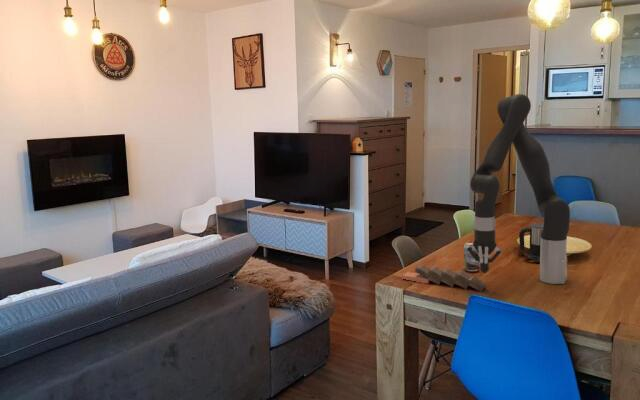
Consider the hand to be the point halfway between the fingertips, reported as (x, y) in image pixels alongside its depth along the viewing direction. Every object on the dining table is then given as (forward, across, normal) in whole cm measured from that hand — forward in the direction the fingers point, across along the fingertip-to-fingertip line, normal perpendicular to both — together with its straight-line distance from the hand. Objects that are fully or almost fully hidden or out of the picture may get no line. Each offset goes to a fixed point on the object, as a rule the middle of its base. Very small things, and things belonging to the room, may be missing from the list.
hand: (484, 272), depth 193 cm
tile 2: (+6, -6, 0) cm, 9 cm away
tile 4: (+6, -17, 0) cm, 18 cm away
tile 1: (+6, 0, 0) cm, 6 cm away
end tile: (+6, -22, 0) cm, 23 cm away
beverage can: (+7, -12, +21) cm, 25 cm away
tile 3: (+6, -12, 0) cm, 13 cm away
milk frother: (+7, +10, +49) cm, 51 cm away
